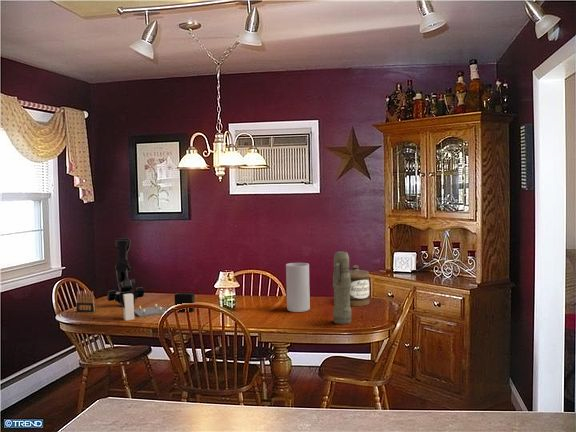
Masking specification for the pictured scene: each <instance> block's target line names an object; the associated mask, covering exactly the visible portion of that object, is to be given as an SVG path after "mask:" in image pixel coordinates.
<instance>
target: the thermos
mask: <svg viewBox="0 0 576 432" xmlns="http://www.w3.org/2000/svg"><path fill="white" fill-rule="evenodd" d="M349 270H350V256H349V254H348V252H347V251H341V250H340V251H336V252H335V253H334V256H333V275H332V288H333V298H334V299H333V301H334V302H333V304H334V305H333V310H332V312H333V317H332V318H333V323H334V324H337V325H348V324H351V323H352V308H351V307H352V306H350V288H351V276H350V273H349Z"/></svg>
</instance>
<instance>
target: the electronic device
mask: <svg viewBox="0 0 576 432" xmlns="http://www.w3.org/2000/svg"><path fill="white" fill-rule="evenodd" d="M195 298H196V297H195V293H194V292H177V293H175V294H174V306H175V305H177V304H182V303H194V302H195ZM195 303H196V302H195ZM195 310H196V308H195V309H194V308H189V312H188V313H192V312H194V311H195ZM177 313H186V312H185V309H182V310H179V311H178V312H177Z"/></svg>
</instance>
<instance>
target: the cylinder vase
mask: <svg viewBox="0 0 576 432" xmlns="http://www.w3.org/2000/svg"><path fill="white" fill-rule="evenodd" d="M285 273H286V275H285V276H286V278H285V279H286V280H285V281H286V284H285V285H286V310H287V311H289V312H293V313H304V312H308V311H309V310H310V309H311V307H310V306H311V303H310V302H311V300H310V298H311V297H310V294H311V293H310V264H309V263H307V262H289V263H286V264H285Z"/></svg>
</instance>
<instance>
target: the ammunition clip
mask: <svg viewBox="0 0 576 432" xmlns="http://www.w3.org/2000/svg"><path fill="white" fill-rule="evenodd" d="M76 292H77V293H76V313H95V312H96V303H95V297H94V290H92V291H91V290H80V291H79V290H77V291H76Z"/></svg>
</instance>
